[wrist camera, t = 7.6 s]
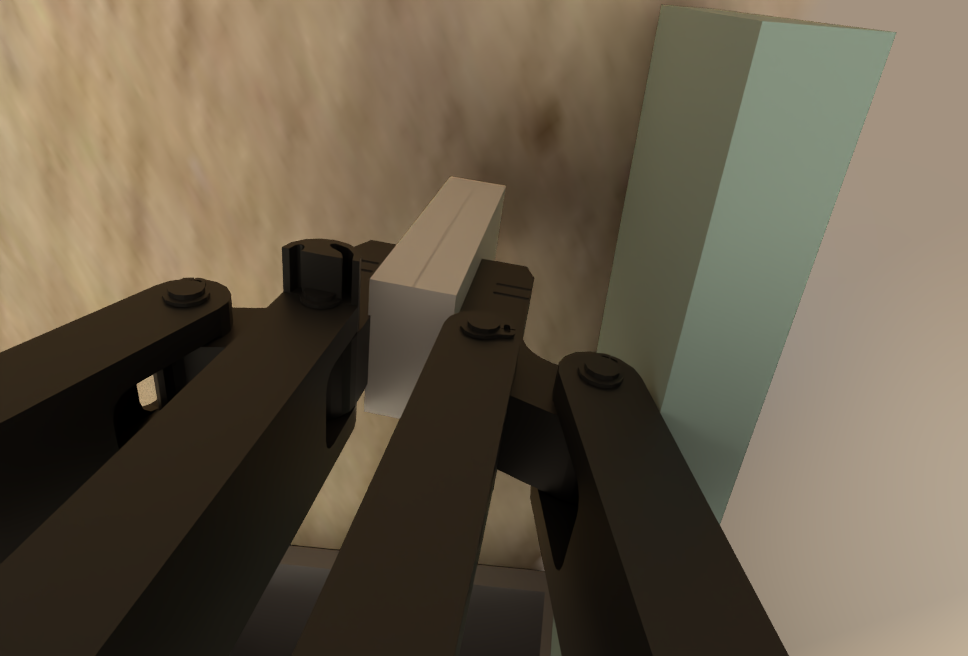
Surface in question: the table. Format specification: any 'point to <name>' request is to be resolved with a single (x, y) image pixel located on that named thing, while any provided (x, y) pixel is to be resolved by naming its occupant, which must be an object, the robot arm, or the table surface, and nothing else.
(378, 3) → the table surface
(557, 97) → the table surface
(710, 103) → the pale green rectangular block
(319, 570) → the cabinet
